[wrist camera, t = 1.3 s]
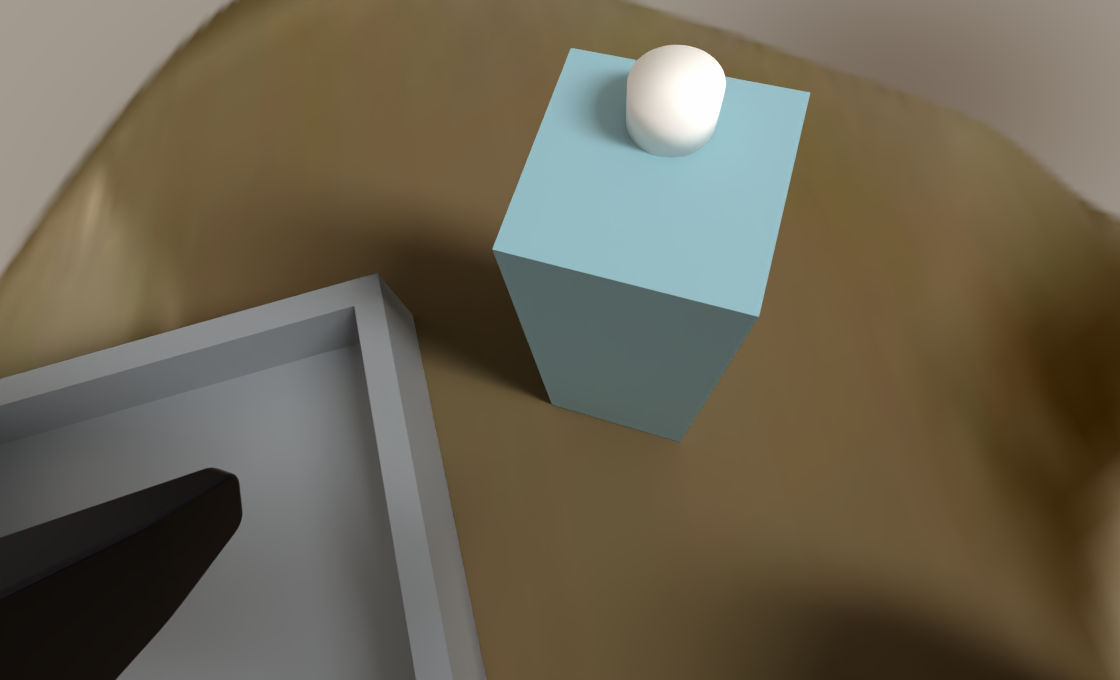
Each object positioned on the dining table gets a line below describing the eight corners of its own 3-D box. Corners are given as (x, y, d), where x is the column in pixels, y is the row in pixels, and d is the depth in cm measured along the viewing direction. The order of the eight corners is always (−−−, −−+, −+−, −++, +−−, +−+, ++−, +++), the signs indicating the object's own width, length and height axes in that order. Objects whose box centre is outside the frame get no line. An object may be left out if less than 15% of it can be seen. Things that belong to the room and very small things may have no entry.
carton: (680, 442, 22) (773, 293, 10) (551, 404, 23) (481, 221, 10) (710, 321, 24) (826, 53, 11) (589, 289, 25) (568, 8, 12)
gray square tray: (509, 794, 19) (485, 854, 15) (-51, 962, 19) (-218, 1065, 15) (413, 315, 25) (378, 272, 21) (-15, 436, 24) (-129, 415, 21)
